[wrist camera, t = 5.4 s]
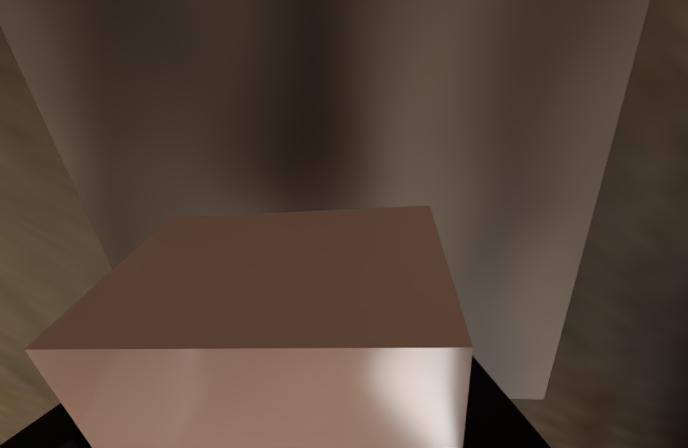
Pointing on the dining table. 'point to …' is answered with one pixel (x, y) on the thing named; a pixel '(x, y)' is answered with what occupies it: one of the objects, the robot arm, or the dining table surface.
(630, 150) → the dining table surface
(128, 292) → the terracotta block
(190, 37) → the walnut base
